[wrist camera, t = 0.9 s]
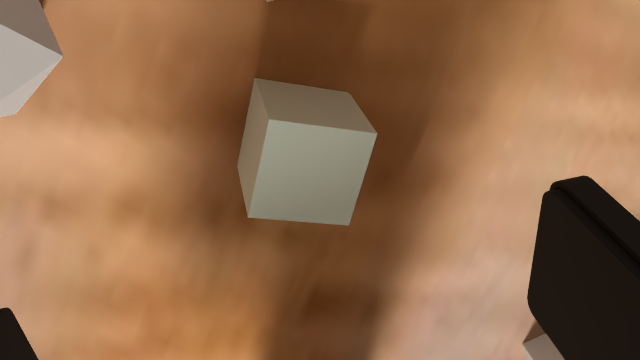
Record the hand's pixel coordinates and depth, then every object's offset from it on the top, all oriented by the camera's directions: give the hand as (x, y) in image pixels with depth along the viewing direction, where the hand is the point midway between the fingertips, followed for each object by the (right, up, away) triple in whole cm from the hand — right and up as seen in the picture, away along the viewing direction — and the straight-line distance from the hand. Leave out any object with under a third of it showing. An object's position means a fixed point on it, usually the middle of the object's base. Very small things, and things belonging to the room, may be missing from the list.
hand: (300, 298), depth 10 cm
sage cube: (-1, +5, +27) cm, 27 cm away
